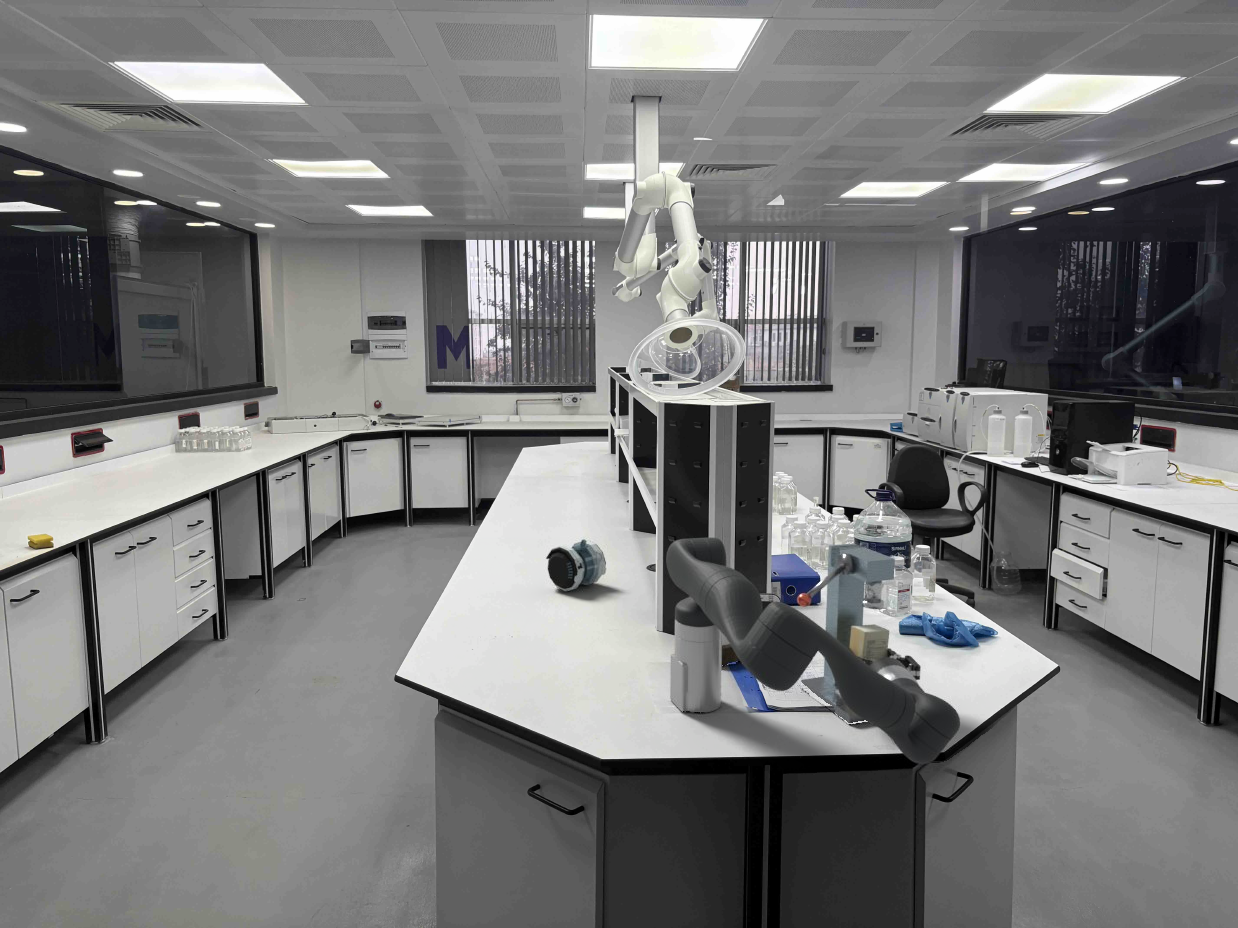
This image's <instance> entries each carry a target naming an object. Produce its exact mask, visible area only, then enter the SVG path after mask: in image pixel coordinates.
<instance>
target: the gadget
mask: <svg viewBox="0 0 1238 928" xmlns="http://www.w3.org/2000/svg"><path fill="white" fill-rule="evenodd" d="M604 554H605V553H604V551H602V549H601V548H600V547H599V545H598V544H597V543H595V542H593V541H591V540H588V539H583V538H582V539H581V541H579V542H576V543H573V545H572V546H571V547H569V546H568V545H561V546H558V547H554V548H552V549H550V551H549V552H548V554H547V556H546V557H545V559H546V560H547V561H548V562H547V572H548V576H549V578H550V580H551V582H553V584H554V586H556V588H558V589H559V590H562V591H563V592H568V591H569V592H570V591H573V590H575V589H578V587H579V585H580V584H582V585H584V586H589V585H591V584H594V583H598V581H599V580H600V578H601V577H602V576H604V575H605V574H606V571H607V567H606V565H607V562H606V558H605V555H604Z"/></svg>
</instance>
